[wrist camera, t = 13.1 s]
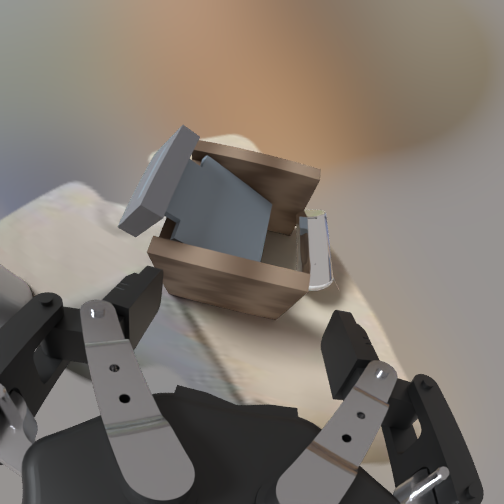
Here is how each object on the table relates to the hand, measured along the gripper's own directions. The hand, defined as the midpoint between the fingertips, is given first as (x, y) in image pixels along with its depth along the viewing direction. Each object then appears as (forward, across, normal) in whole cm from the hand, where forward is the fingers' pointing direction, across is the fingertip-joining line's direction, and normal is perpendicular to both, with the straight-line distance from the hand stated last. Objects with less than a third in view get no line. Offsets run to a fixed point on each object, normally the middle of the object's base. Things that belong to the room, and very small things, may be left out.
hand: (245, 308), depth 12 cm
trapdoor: (+17, +7, +1) cm, 18 cm away
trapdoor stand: (+22, +2, +6) cm, 23 cm away
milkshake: (+19, -6, -2) cm, 20 cm away
